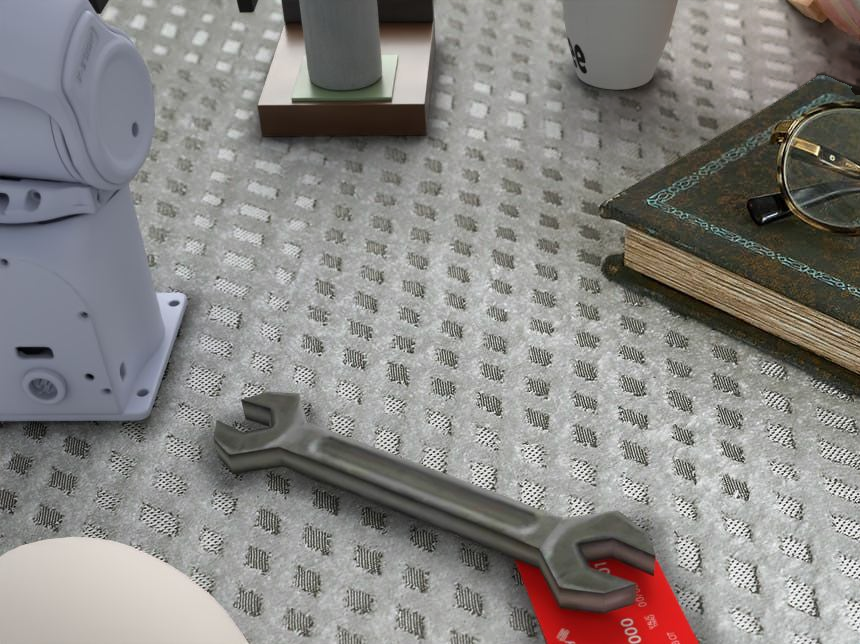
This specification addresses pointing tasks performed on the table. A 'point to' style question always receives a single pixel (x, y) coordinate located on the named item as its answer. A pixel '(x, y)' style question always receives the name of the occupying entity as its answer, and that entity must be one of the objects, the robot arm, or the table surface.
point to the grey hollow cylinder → (342, 43)
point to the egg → (103, 597)
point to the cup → (617, 39)
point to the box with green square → (361, 108)
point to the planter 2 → (833, 13)
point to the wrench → (445, 503)
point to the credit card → (617, 630)
